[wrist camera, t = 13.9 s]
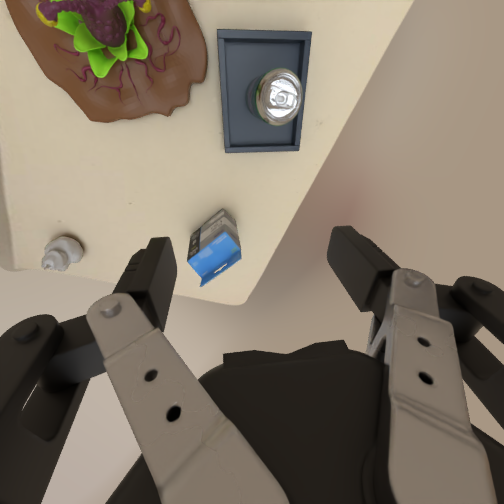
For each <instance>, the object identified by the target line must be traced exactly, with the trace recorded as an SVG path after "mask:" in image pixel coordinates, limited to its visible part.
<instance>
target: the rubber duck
mask: <svg viewBox="0 0 504 504" xmlns="http://www.w3.org/2000/svg"><path fill="white" fill-rule="evenodd" d="M82 257H83V250H82V248H81V247H80V244H79V243H78V242H77V241H76V240H74V239H72V238H68V237H64V236H62V237H59V238H57V239H55V240H53V241H51V242H49V243H48V244H47V245H46V246H45V256H44V257H43V258H42V267H44V270H45V269H51V270H58V271H65V270H66V269H67V268H68V266H69V265H70V263H77V262H79V261H80V260H81V259H82Z"/></svg>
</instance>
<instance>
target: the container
mask: <svg viewBox="0 0 504 504" xmlns="http://www.w3.org/2000/svg"><path fill="white" fill-rule="evenodd" d="M311 36H312V32H311V31H272V30H233V29H217V41H218V56H219V71H220V86H221V100H222V115H223V130H224V145H225V153H244V152H279V151H299V147H300V146H299V145H300V138H301V129H302V120H303V110H304V101H305V92H306V83H307V73H308V64H309V55H310V46H311ZM280 67H281V68H287V69H289V70H291V71H292V72H293V73H295V74H296V76H297V77H298V79H299V80H300V83H301V86H302V92H303V98H302V104H301V107H300V109H299V112H298V113H297V115H296V116H295V117H294V119H293V120H292V121H290V122H289V123H287V124H285V125H282V126H273V125H270V124H268V123H266V122H264V121H262V120H260V119H258V118H256V117H255V116H253V115H252V114H251V113H250V112H249V110H248V108H247V105H246V100H245V96H246V90H247V88H248V85H249V84H250V82H251V81H252V80H253V79H255V78H256V77H258V76H260V75H262V74H264V73H266V72H268V71H270V70H272V69H274V68H280Z"/></svg>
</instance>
